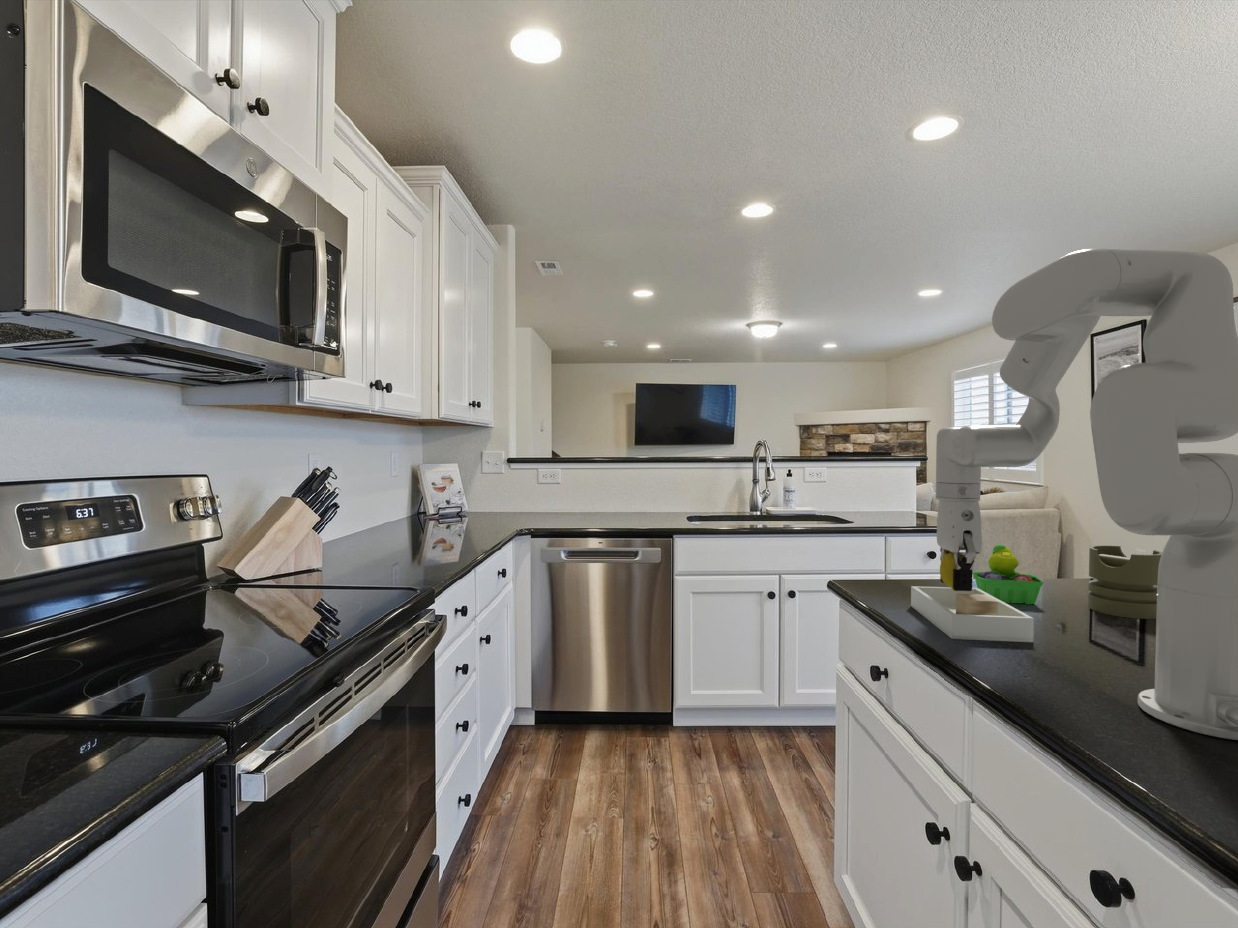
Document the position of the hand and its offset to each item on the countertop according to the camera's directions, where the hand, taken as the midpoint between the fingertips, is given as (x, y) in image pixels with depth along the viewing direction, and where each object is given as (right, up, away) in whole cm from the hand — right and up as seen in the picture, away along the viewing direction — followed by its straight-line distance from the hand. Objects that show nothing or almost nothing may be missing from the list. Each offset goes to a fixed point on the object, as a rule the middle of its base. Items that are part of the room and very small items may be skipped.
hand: (955, 585), depth 120 cm
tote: (-1, -6, -5) cm, 8 cm away
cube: (-1, -5, -9) cm, 10 cm away
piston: (+35, -6, +3) cm, 35 cm away
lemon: (0, -1, 0) cm, 1 cm away
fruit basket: (+17, -5, +12) cm, 21 cm away
